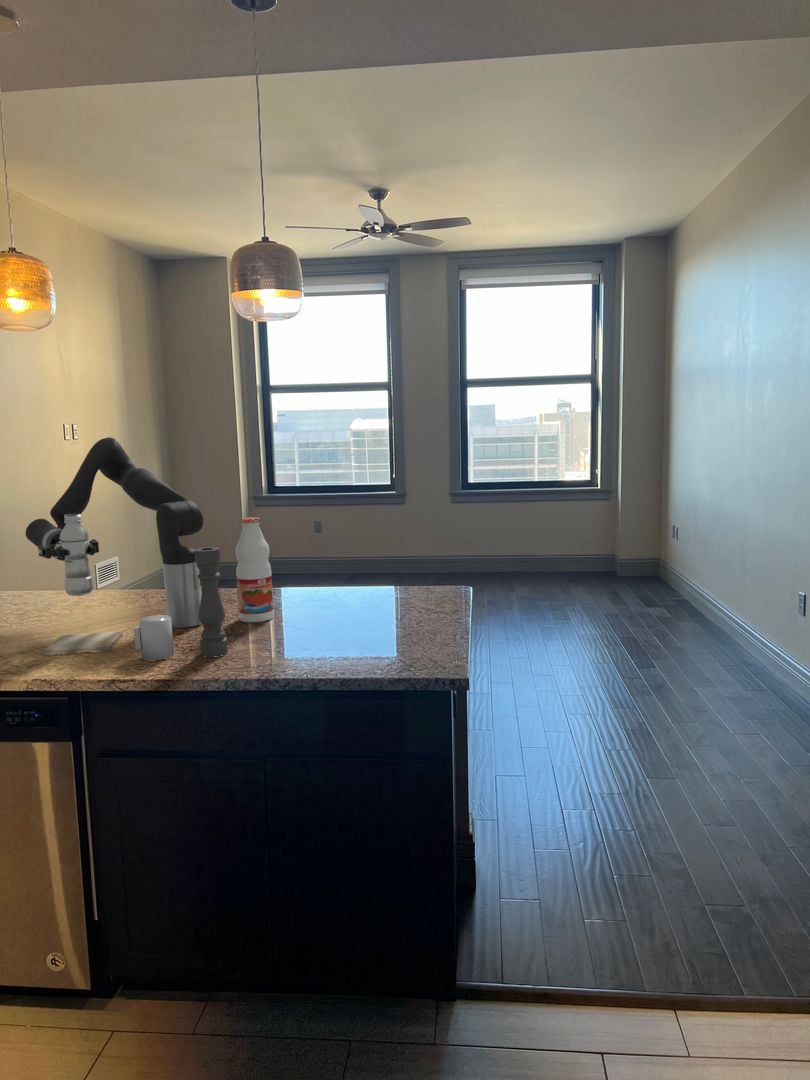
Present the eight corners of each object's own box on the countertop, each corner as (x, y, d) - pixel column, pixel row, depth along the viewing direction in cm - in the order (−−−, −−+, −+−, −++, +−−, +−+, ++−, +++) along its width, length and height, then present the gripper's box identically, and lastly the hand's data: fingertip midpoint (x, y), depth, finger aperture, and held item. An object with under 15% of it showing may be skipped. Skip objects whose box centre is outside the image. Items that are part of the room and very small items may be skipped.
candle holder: (217, 648, 181) (210, 545, 177) (233, 652, 177) (226, 548, 173) (195, 654, 177) (187, 549, 173) (211, 659, 173) (204, 552, 169)
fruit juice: (266, 612, 214) (260, 515, 209) (279, 619, 206) (273, 518, 201) (234, 617, 209) (228, 518, 204) (246, 625, 201) (239, 521, 196)
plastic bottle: (84, 599, 181) (76, 516, 177) (59, 598, 182) (51, 516, 179) (100, 592, 187) (93, 513, 184) (75, 591, 188) (68, 512, 185)
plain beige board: (122, 636, 194) (122, 631, 194) (109, 651, 181) (109, 646, 181) (61, 639, 192) (61, 635, 192) (44, 655, 179) (44, 650, 179)
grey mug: (176, 650, 180) (173, 614, 179) (171, 659, 173) (168, 621, 172) (140, 652, 179) (137, 616, 178) (134, 662, 172) (131, 624, 171)
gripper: (29, 532, 189) (44, 541, 176) (88, 526, 198) (107, 534, 184) (32, 562, 190) (47, 572, 177) (91, 554, 199) (110, 563, 186)
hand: (78, 552), depth 181 cm, fingers closed on plastic bottle, 6 cm apart
